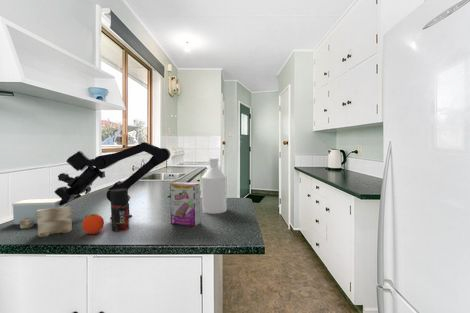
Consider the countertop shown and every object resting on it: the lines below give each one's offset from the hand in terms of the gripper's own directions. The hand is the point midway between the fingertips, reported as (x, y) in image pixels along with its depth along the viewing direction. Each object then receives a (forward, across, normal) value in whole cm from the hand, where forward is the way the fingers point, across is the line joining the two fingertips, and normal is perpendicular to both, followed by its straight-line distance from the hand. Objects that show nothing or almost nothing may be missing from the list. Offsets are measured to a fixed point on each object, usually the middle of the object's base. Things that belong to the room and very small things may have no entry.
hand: (60, 204), depth 107 cm
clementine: (-10, +18, +20) cm, 28 cm away
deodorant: (-16, +15, +26) cm, 34 cm away
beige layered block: (0, +16, +9) cm, 18 cm away
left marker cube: (+11, +8, -1) cm, 13 cm away
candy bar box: (-33, +11, +43) cm, 55 cm away
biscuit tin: (+11, 0, -1) cm, 11 cm away
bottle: (-41, -7, +51) cm, 66 cm away
